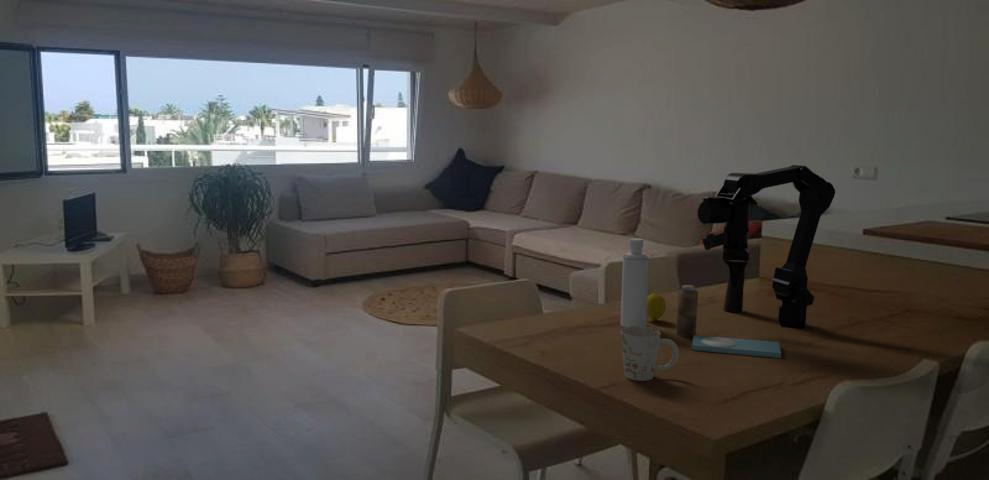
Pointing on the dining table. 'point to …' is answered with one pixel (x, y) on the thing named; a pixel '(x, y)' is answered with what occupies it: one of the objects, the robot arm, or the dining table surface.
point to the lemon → (655, 306)
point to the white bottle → (634, 285)
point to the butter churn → (734, 295)
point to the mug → (643, 352)
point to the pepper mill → (687, 311)
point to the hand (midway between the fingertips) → (733, 282)
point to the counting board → (736, 346)
